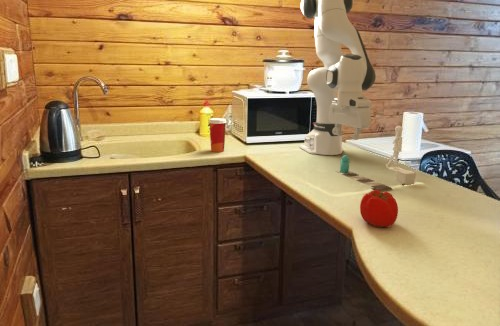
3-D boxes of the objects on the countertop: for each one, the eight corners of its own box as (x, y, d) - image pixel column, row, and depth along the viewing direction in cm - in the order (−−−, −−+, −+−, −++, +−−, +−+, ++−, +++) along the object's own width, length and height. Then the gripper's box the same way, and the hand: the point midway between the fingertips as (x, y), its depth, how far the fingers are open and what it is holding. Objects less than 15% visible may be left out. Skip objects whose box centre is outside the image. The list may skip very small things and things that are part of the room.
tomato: (376, 234, 104) (379, 202, 101) (349, 219, 113) (351, 189, 111) (408, 228, 108) (411, 197, 105) (379, 214, 117) (382, 185, 115)
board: (334, 173, 158) (334, 171, 157) (347, 171, 160) (347, 170, 160) (378, 191, 137) (378, 189, 136) (391, 189, 139) (392, 187, 139)
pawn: (338, 171, 158) (339, 154, 156) (345, 170, 159) (346, 154, 157) (343, 173, 155) (344, 156, 153) (350, 172, 156) (351, 155, 155)
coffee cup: (216, 148, 198) (216, 117, 194) (229, 150, 193) (230, 119, 190) (204, 151, 191) (204, 119, 188) (218, 153, 187) (218, 121, 183)
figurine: (405, 173, 159) (410, 127, 155) (384, 172, 161) (388, 126, 156) (402, 168, 167) (407, 124, 162) (381, 167, 168) (386, 123, 164)
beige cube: (395, 182, 148) (396, 170, 147) (404, 181, 150) (406, 169, 149) (404, 186, 144) (406, 174, 143) (413, 184, 146) (415, 172, 145)
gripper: (325, 98, 158) (324, 133, 161) (360, 102, 140) (358, 142, 143) (339, 97, 160) (337, 132, 164) (375, 102, 142) (372, 141, 146)
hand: (347, 137), depth 153 cm, fingers open, 8 cm apart
